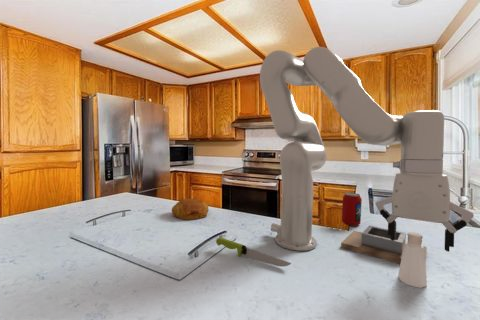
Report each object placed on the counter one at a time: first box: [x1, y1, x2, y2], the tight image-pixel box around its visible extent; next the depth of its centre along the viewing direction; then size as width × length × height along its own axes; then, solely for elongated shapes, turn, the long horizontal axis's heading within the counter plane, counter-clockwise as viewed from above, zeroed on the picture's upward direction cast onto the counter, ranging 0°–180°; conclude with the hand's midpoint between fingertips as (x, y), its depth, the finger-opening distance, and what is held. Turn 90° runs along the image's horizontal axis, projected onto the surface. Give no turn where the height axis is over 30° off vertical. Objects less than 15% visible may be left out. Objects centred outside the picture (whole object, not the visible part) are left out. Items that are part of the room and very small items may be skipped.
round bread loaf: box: [171, 198, 209, 221], centre depth 102 cm, size 14×16×8 cm
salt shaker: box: [397, 231, 428, 289], centre depth 55 cm, size 5×5×11 cm
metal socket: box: [361, 225, 407, 255], centre depth 71 cm, size 10×10×4 cm
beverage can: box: [341, 192, 363, 227], centre depth 95 cm, size 7×7×12 cm
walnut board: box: [340, 230, 428, 265], centre depth 72 cm, size 20×14×2 cm
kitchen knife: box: [215, 237, 292, 267], centre depth 64 cm, size 22×1×3 cm, turn 60°
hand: (418, 243), depth 54 cm, fingers open, 9 cm apart
